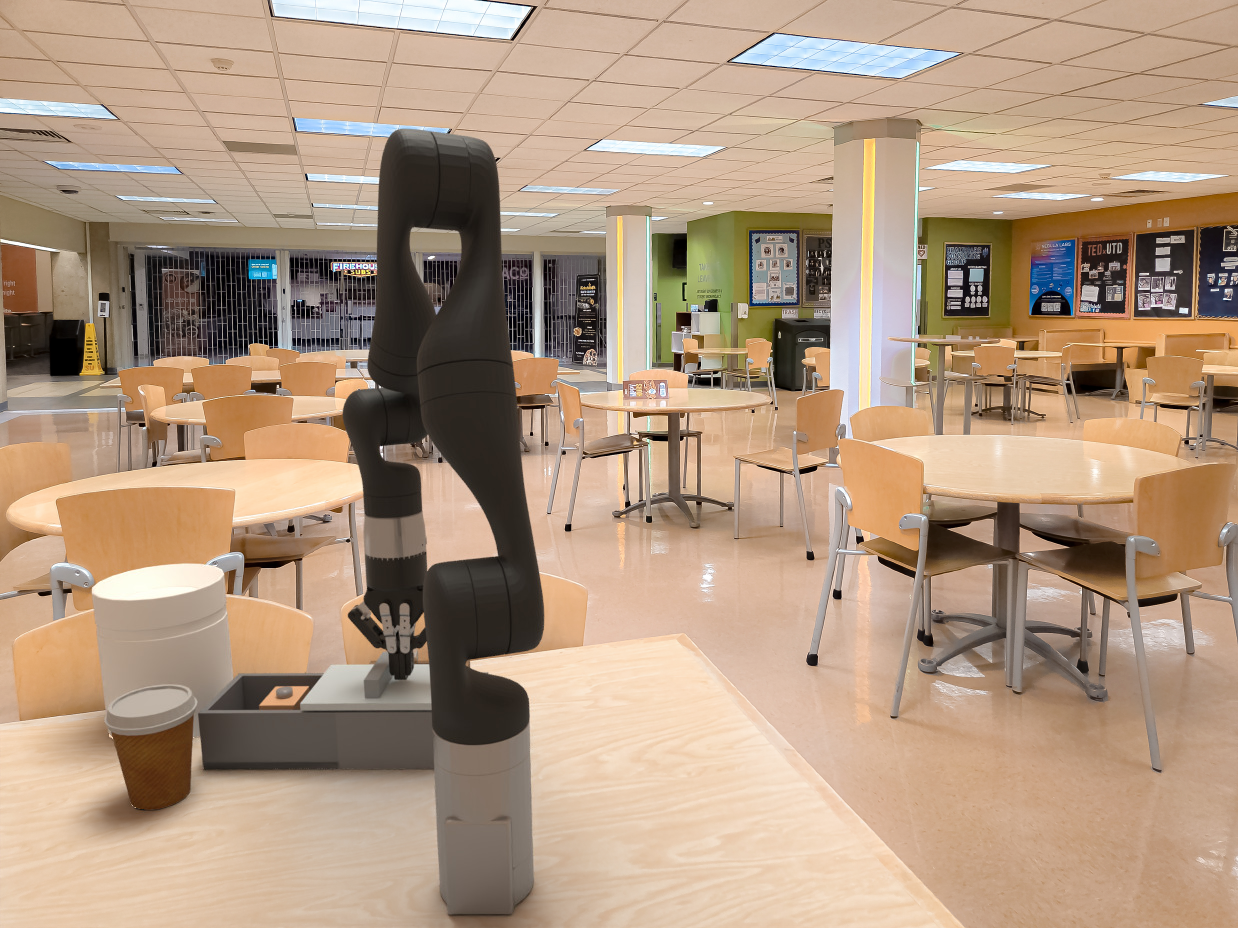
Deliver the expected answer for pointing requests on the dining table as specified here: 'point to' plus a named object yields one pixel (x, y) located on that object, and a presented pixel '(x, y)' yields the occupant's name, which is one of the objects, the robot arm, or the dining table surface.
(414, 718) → the frame
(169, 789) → the disposable coffee cup
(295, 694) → the orange rectangular block
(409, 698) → the lid
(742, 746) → the dining table surface
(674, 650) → the dining table surface
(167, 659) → the canister
